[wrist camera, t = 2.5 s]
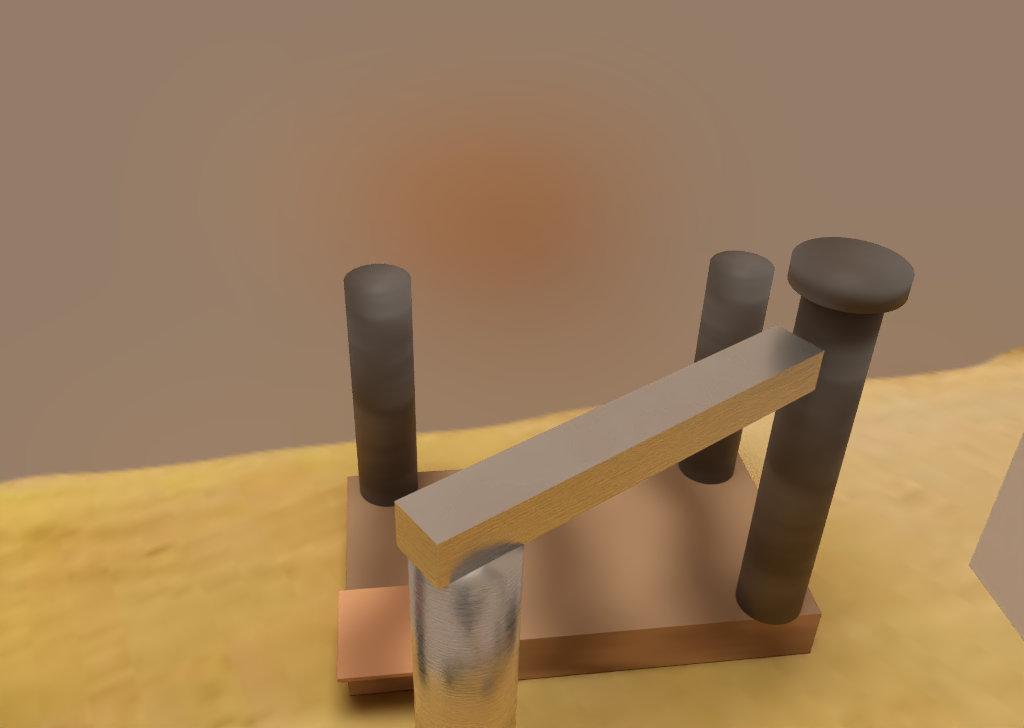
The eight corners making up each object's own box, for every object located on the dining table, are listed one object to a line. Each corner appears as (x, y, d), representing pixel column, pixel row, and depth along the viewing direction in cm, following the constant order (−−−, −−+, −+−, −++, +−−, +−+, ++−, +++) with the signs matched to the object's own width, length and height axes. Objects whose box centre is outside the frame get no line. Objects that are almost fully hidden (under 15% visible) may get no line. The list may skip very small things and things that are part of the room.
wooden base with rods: (727, 483, 52) (793, 148, 42) (821, 676, 42) (941, 294, 31) (344, 509, 49) (313, 160, 39) (342, 723, 39) (298, 322, 29)
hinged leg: (709, 587, 41) (763, 317, 34) (768, 634, 39) (839, 358, 32) (400, 785, 33) (382, 489, 26) (453, 858, 31) (450, 558, 24)
